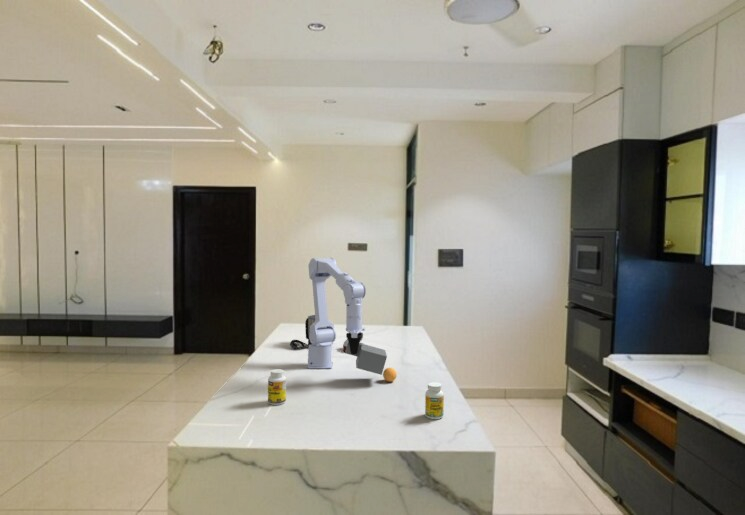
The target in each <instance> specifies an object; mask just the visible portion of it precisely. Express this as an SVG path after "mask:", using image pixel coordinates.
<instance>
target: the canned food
mask: <svg viewBox="0 0 745 515" xmlns="http://www.w3.org/2000/svg"><path fill="white" fill-rule="evenodd" d="M361 333H362V338H361V340H360V342H359V343H360V344H364V343H363V342H362V340H363V338H364V333H363V332H361ZM347 344H348V339H347V338H346V339H345V341H344V342H343V344H342V345H343V346H342V350H343V352H344V351H346V348H347Z"/></svg>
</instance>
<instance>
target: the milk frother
mask: <svg viewBox="0 0 745 515" xmlns="http://www.w3.org/2000/svg"><path fill="white" fill-rule="evenodd" d="M315 321H316V319H315V314H313V315H307V318H306V319H305V339H306V340H307V343H306V342H303V341H301V340H299V339H292V340H291V341H290V344H289V345H290V347H291V348H293V349H294V350H303V349H305V346H306V347H307V348H308V349H309V345H312V343H311V342H310V339H309V333H310V326H311V325H312V324H313V323H314V322H315ZM320 328H327V327H319V328H318V329H320ZM300 345H301V346H300Z"/></svg>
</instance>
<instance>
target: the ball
mask: <svg viewBox="0 0 745 515" xmlns="http://www.w3.org/2000/svg"><path fill="white" fill-rule="evenodd" d="M397 374H398V373H397V371H396V369H394V368H393V367H386V368H384V369H383V372H382V376H383V379H384V380H385V381H386V382H394V381H395V380H396V379H397V377H398V376H397Z"/></svg>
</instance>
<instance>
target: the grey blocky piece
mask: <svg viewBox="0 0 745 515" xmlns="http://www.w3.org/2000/svg"><path fill="white" fill-rule="evenodd" d="M360 343H361V342H359V346H358V352H357V354H351V352H350V345H349V341H348V344H347V348H346V351H345V352H344V353H345V354H347V355H350V356H353V357H356V359H355V368H356V369H358V370H362V371H366V372H370V373H374V374H377V375H382V376H383V372H384V370H385V364H386V362H387V358H388V355H387V353H386V349H383V348H379V347H376V346H372V345H368V344H365V343H363V344H360Z"/></svg>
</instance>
